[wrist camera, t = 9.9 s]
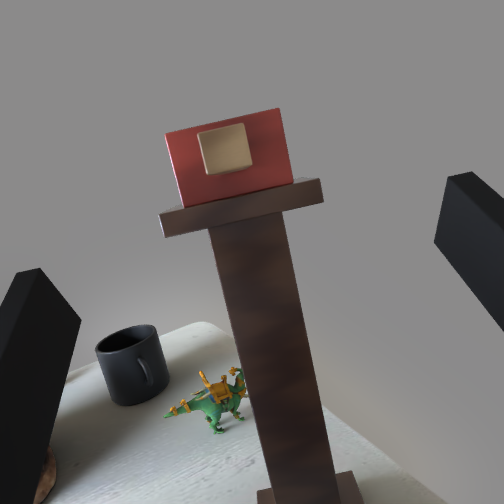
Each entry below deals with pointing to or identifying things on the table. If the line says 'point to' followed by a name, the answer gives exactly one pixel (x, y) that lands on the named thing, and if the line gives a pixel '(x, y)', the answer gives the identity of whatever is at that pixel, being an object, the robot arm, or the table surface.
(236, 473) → the table surface
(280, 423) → the stand
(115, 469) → the table surface
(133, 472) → the table surface
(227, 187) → the mallet
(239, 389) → the figurine
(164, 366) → the mug
